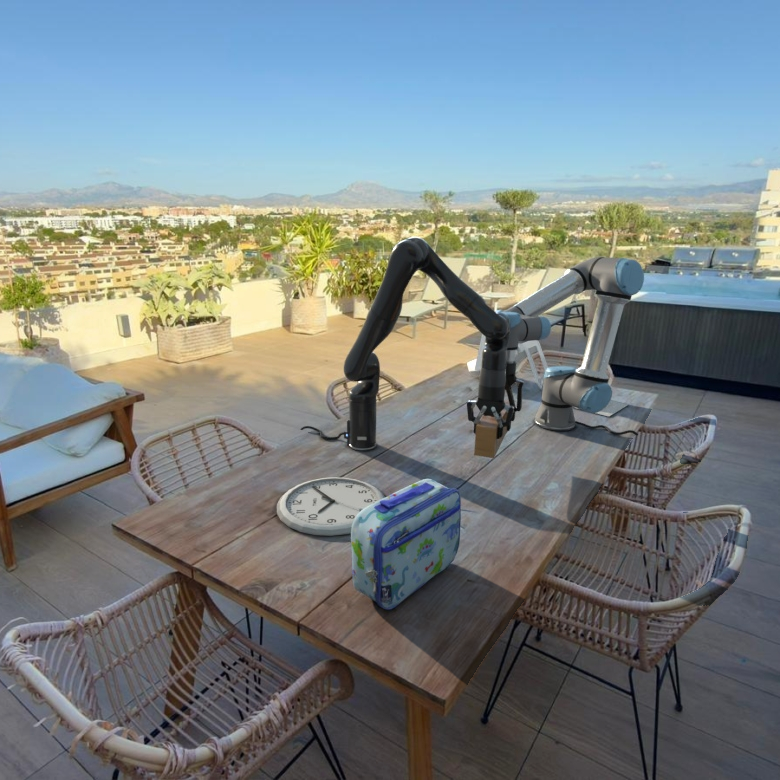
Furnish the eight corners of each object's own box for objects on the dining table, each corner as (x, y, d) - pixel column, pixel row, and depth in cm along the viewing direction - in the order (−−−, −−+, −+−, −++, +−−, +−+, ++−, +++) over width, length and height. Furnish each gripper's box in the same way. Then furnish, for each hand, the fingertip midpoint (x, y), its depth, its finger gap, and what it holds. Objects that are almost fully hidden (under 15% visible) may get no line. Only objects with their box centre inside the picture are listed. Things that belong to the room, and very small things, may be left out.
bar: (492, 424, 179) (494, 398, 177) (509, 427, 177) (511, 400, 174) (474, 455, 155) (476, 425, 152) (493, 458, 153) (496, 428, 150)
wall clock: (392, 527, 129) (268, 531, 127) (391, 533, 130) (269, 537, 127) (383, 473, 158) (282, 475, 155) (383, 478, 158) (282, 480, 156)
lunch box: (380, 623, 100) (381, 528, 94) (344, 596, 108) (343, 505, 101) (464, 565, 118) (470, 482, 112) (428, 545, 125) (432, 466, 119)
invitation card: (608, 416, 214) (573, 407, 224) (608, 416, 214) (573, 408, 224) (628, 404, 229) (594, 396, 238) (628, 405, 229) (594, 397, 238)
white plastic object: (487, 418, 267) (468, 395, 242) (469, 346, 289) (449, 318, 264) (558, 394, 255) (545, 368, 230) (533, 321, 277) (518, 289, 252)
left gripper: (464, 382, 150) (461, 437, 155) (515, 389, 145) (510, 445, 150) (470, 376, 157) (467, 428, 162) (519, 382, 152) (514, 435, 157)
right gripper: (473, 360, 168) (468, 427, 175) (533, 366, 161) (525, 436, 168) (478, 355, 174) (473, 420, 181) (536, 361, 168) (529, 428, 175)
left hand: (487, 436), depth 156 cm, fingers closed on bar, 6 cm apart
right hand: (498, 427), depth 175 cm, fingers closed on bar, 6 cm apart
